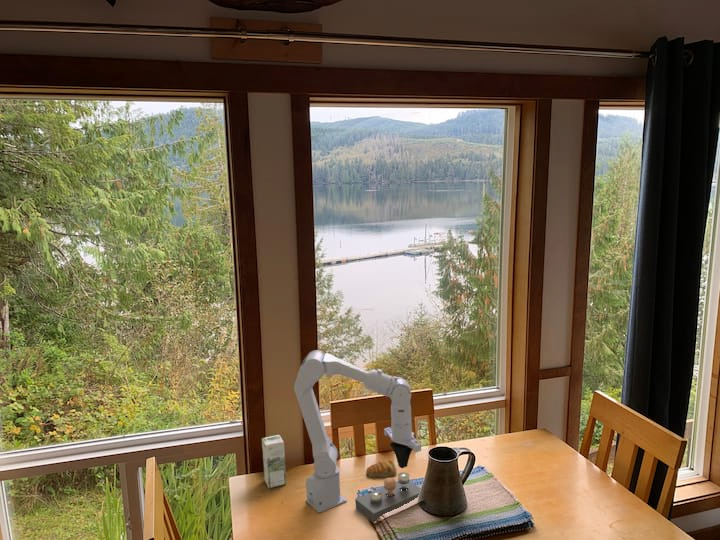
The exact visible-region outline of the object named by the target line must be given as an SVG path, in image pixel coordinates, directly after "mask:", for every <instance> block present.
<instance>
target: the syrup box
mask: <svg viewBox="0 0 720 540" xmlns="http://www.w3.org/2000/svg"><path fill="white" fill-rule="evenodd" d="M261 447H262V450H261V451H262V461H263V462H262V464H263V477H264V478H263V479H264V481H265V484H266V485H267V488H268V489H269V490H270V489H273V488H277V487H281V486H284V485H287V473H286V459H285V458H286V457H285V442H284V439H282V437H281V435H280V434H277V435H271V436H266V437H262V438H261Z"/></svg>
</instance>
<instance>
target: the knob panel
mask: <svg viewBox="0 0 720 540" xmlns="http://www.w3.org/2000/svg"><path fill="white" fill-rule="evenodd" d="M395 483H396V488H395V489H394V490H393V497H388V496H387V495H388V490H386V489H385V488H384V486H382V487H381V488H378V489H376V490H375V491H380V492H381V493H382V501H381V502H380V503H377V504H374V503H372V502H371V501H370V493H371V492H369V493H366V494H364V495H361V496H359V497H356V498H355V499H354V501H355V509H356V510H357V511H358V512H359V513H360V514H362V516H364V517H365V518H366V519H367V520H369V521H370V522H371V523H373V522H375V521H376V520H377V519H378V518H379V517H380V516H382V515H383V514H385V513H387V512H390V511H392V510H394V509H397V508H399V507H401V506H403V505H404V504H407V503H409V502H410V501H412V500H414V499H415V498H417V497H418V495H419V492H420V489H422V488H421V487H420V486H418V485H417V484H416V483H413V482H412V481H410V480H409V483H408V484H406V489H407V490H406V491H404V492H403V491H401V489H402V486H401V484H400V483H399V482H398V480H397V481H395Z"/></svg>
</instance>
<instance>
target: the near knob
mask: <svg viewBox="0 0 720 540" xmlns="http://www.w3.org/2000/svg"><path fill="white" fill-rule="evenodd" d="M369 493H370V501H371V502H372V503H374V504H377V503H380V502H381V501H382V493H381V492H380V491H376V490H372V491H370V492H369Z"/></svg>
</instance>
